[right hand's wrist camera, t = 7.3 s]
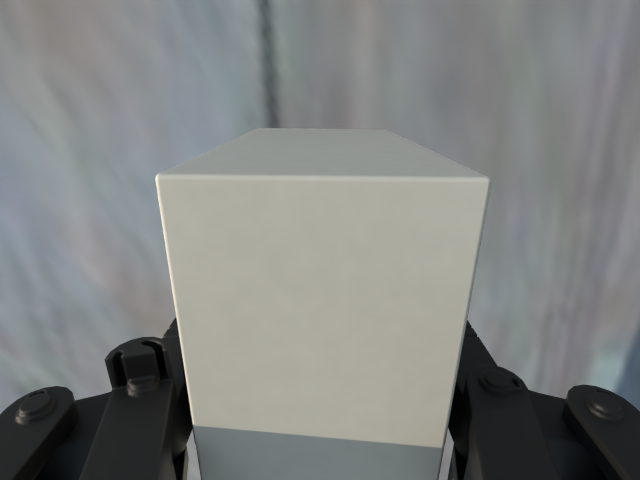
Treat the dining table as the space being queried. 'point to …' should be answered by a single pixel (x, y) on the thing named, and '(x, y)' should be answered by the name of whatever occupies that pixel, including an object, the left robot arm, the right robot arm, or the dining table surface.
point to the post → (321, 301)
